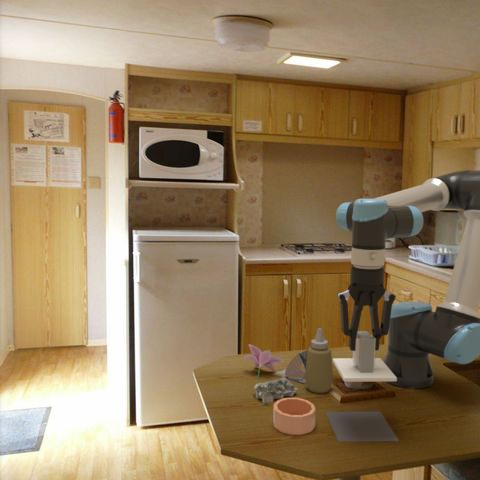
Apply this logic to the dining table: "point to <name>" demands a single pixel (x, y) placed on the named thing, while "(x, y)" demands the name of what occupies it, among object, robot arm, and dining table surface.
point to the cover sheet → (362, 377)
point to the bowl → (294, 416)
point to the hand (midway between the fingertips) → (363, 362)
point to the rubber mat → (360, 426)
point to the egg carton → (274, 385)
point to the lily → (263, 358)
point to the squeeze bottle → (319, 365)
